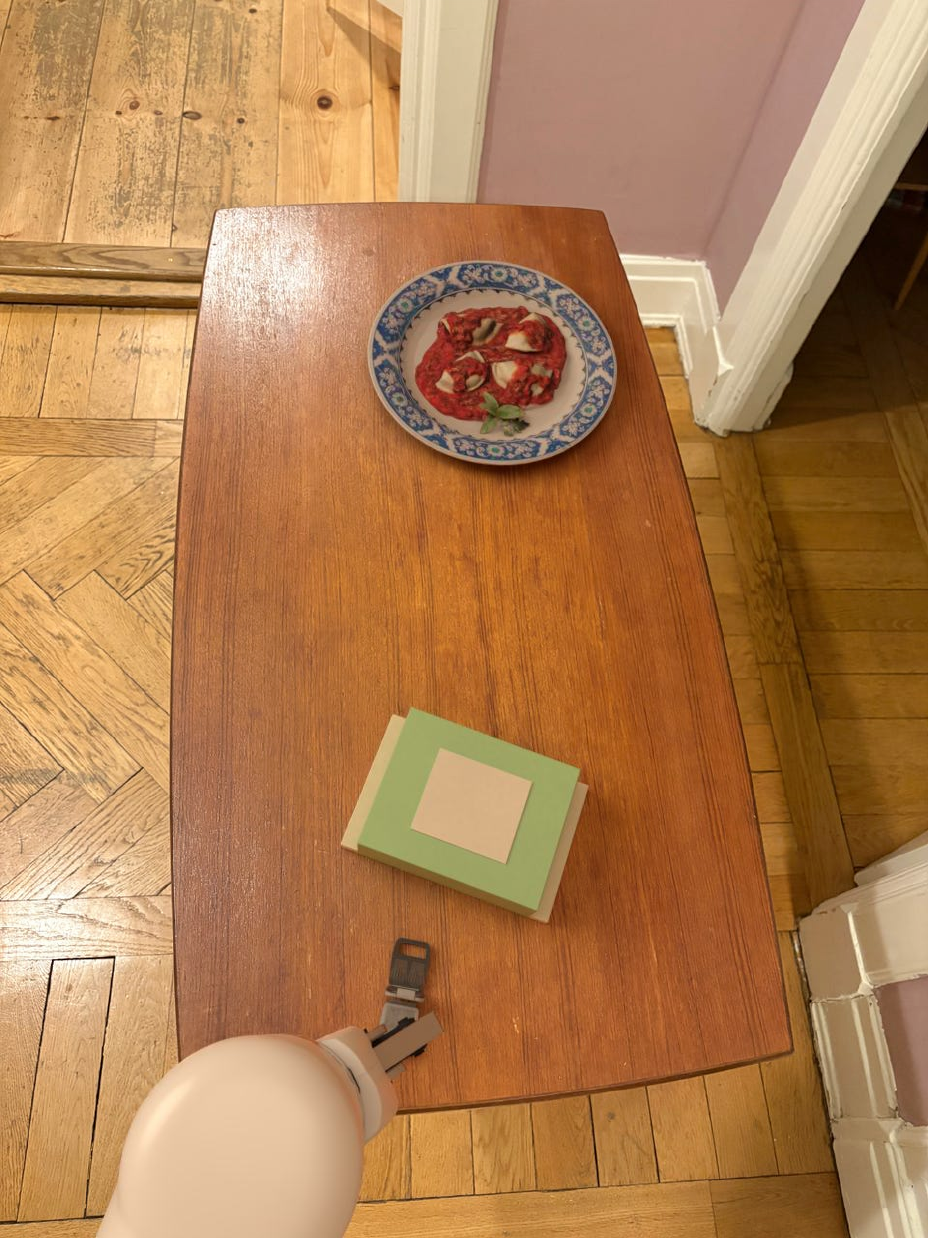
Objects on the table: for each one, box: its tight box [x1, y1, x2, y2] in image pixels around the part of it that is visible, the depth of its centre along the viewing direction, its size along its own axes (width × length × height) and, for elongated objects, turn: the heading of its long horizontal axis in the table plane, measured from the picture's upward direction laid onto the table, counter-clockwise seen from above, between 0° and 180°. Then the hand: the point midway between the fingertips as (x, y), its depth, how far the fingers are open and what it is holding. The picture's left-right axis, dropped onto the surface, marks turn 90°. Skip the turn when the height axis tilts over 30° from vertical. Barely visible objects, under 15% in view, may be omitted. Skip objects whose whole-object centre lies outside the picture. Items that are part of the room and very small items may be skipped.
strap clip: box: [378, 937, 431, 1035], centre depth 72 cm, size 8×3×4 cm, turn 170°
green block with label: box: [340, 706, 590, 925], centre depth 78 cm, size 12×18×5 cm, turn 71°
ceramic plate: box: [366, 259, 618, 466], centre depth 98 cm, size 26×26×3 cm
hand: (299, 1102), depth 55 cm, fingers open, 9 cm apart
